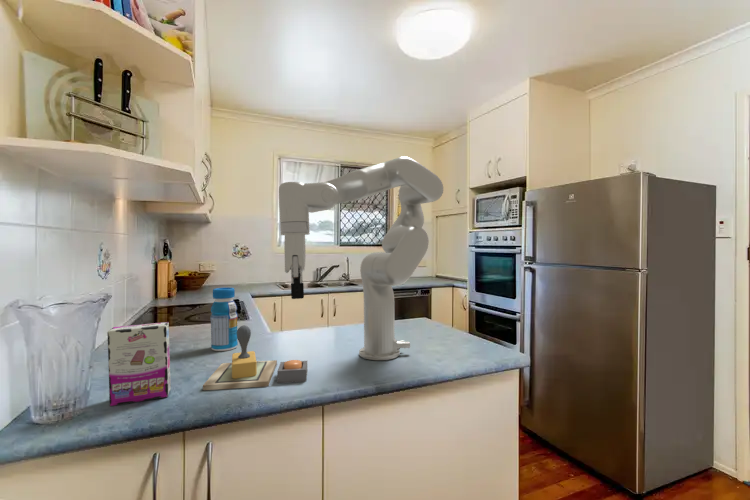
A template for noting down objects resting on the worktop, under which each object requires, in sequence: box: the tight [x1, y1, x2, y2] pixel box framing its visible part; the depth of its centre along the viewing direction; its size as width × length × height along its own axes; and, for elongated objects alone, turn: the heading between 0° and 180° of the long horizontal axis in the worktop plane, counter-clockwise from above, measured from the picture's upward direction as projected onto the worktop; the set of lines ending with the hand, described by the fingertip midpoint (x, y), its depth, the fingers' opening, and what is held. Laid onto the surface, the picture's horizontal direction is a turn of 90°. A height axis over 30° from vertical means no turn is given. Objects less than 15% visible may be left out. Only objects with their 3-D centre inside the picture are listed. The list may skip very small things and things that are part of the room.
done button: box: [284, 359, 302, 369], centre depth 92 cm, size 4×4×4 cm
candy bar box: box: [106, 321, 172, 407], centre depth 80 cm, size 11×5×16 cm, turn 114°
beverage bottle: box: [209, 287, 239, 352], centre depth 119 cm, size 8×8×20 cm
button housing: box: [276, 360, 308, 384], centre depth 92 cm, size 7×7×3 cm
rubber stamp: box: [231, 324, 257, 379], centre depth 93 cm, size 10×6×12 cm, turn 21°
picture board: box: [202, 359, 278, 391], centre depth 93 cm, size 15×16×1 cm
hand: (297, 298), depth 95 cm, fingers closed
